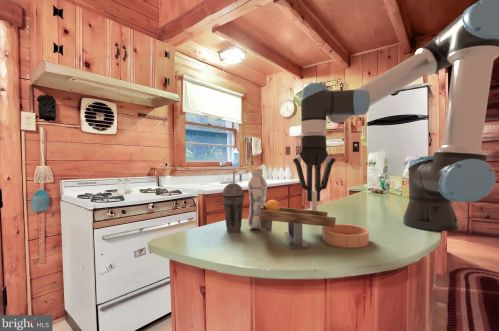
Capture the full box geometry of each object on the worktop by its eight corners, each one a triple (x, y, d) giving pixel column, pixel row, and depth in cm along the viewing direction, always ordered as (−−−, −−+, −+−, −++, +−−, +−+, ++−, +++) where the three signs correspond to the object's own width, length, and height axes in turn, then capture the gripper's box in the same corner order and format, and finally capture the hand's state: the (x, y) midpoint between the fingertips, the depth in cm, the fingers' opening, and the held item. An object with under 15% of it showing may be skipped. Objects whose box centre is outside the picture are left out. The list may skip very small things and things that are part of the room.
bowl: (357, 234, 77) (357, 223, 77) (377, 247, 65) (376, 235, 65) (317, 234, 77) (317, 224, 77) (330, 248, 65) (329, 235, 65)
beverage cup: (219, 232, 81) (217, 170, 80) (227, 227, 88) (226, 169, 87) (240, 234, 79) (239, 170, 78) (247, 228, 86) (246, 169, 85)
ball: (275, 214, 73) (281, 202, 73) (276, 217, 69) (282, 204, 69) (262, 209, 73) (268, 196, 73) (263, 212, 69) (269, 198, 69)
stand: (297, 234, 77) (297, 213, 77) (307, 249, 64) (306, 223, 64) (284, 234, 78) (284, 213, 77) (291, 249, 65) (291, 224, 64)
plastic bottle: (244, 228, 85) (243, 169, 85) (258, 225, 90) (257, 168, 89) (257, 232, 80) (256, 169, 80) (271, 228, 85) (271, 168, 85)
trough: (318, 224, 82) (320, 206, 82) (333, 238, 67) (336, 216, 67) (257, 218, 82) (259, 199, 82) (258, 230, 67) (260, 208, 67)
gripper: (330, 136, 82) (330, 209, 82) (290, 136, 82) (290, 209, 82) (338, 134, 74) (338, 214, 75) (294, 134, 74) (294, 214, 75)
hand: (313, 211), depth 78 cm, fingers closed
